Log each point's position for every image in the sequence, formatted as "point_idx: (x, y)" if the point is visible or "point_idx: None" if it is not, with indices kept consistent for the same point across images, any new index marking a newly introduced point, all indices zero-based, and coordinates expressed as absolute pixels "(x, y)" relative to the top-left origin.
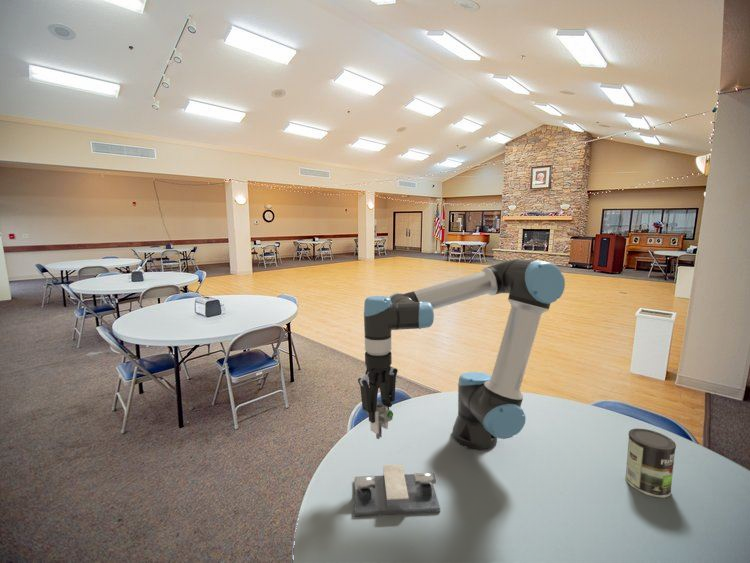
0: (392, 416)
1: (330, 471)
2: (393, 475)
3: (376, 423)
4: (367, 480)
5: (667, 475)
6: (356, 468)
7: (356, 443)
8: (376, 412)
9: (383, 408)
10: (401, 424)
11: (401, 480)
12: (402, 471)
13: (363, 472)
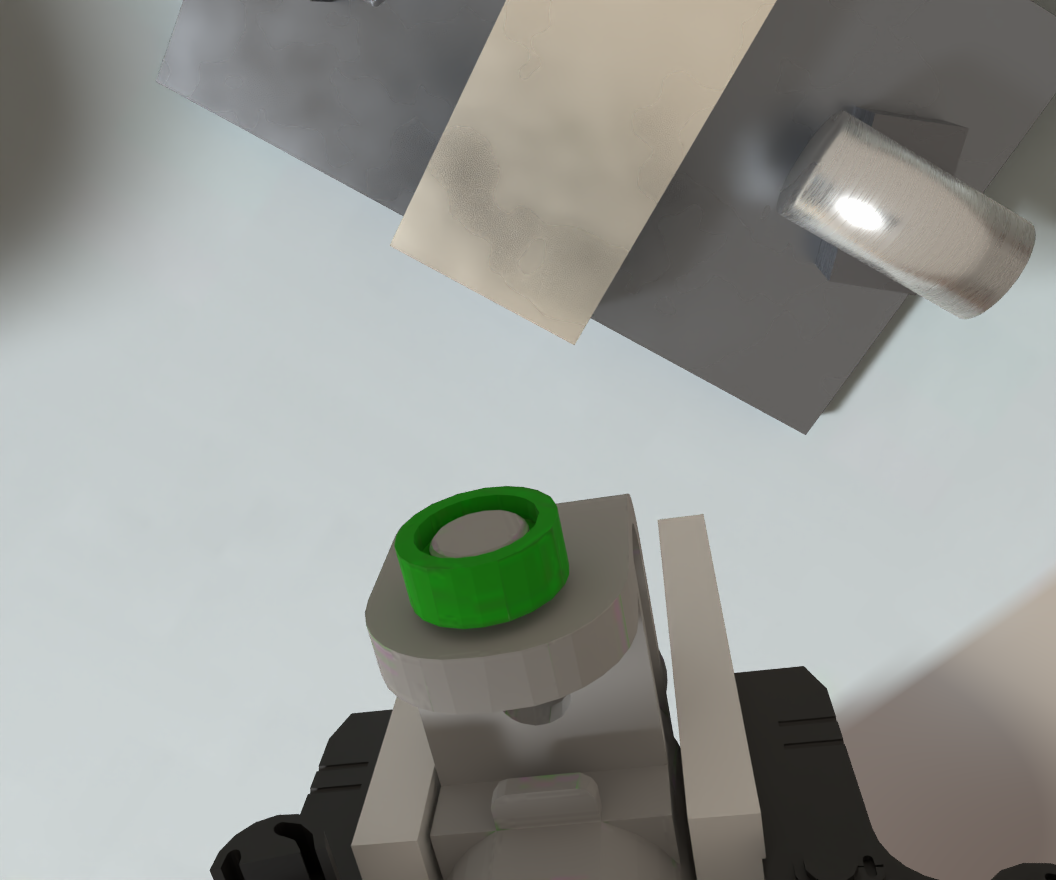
0: (432, 505)
1: (907, 621)
2: (572, 146)
3: (723, 629)
4: (910, 184)
5: None
6: None
7: None
8: (754, 813)
9: (491, 853)
10: (50, 787)
11: (543, 25)
12: (450, 146)
13: (679, 467)
